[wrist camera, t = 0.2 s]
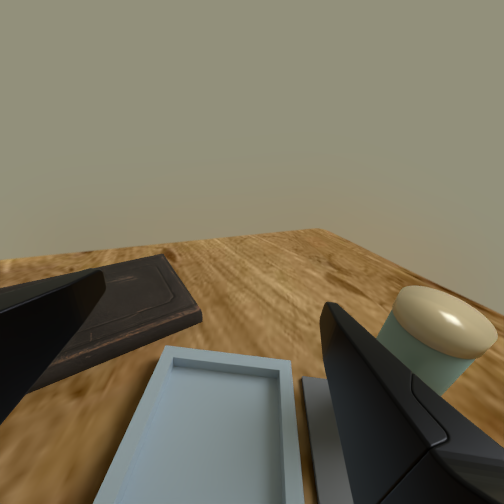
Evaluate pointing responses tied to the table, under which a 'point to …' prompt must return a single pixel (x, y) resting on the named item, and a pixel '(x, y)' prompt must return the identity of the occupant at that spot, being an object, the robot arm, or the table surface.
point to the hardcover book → (124, 315)
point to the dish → (210, 434)
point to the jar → (435, 335)
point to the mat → (325, 444)
